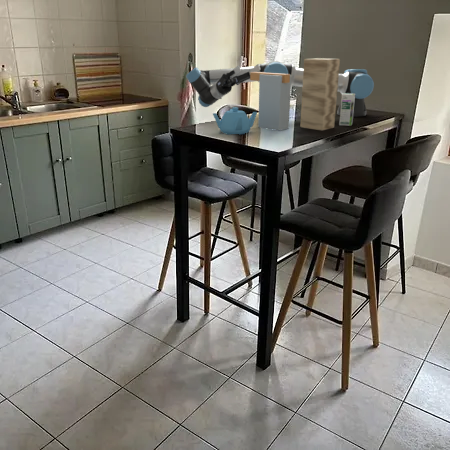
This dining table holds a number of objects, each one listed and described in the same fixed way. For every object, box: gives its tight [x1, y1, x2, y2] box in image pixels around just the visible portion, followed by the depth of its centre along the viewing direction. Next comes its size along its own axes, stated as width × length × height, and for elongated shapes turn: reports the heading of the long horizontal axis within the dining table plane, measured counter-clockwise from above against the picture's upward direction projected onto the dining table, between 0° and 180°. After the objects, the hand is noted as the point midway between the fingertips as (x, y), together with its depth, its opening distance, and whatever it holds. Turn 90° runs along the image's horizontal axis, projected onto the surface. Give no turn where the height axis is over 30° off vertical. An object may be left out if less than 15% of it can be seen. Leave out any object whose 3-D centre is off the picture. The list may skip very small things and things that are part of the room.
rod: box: [250, 72, 290, 83], centre depth 208 cm, size 4×20×4 cm, turn 46°
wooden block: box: [300, 57, 341, 131], centre depth 209 cm, size 10×12×30 cm
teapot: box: [212, 106, 258, 135], centre depth 203 cm, size 15×15×11 cm
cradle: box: [257, 74, 292, 131], centre depth 210 cm, size 8×12×24 cm, turn 46°
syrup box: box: [338, 93, 355, 127], centre depth 218 cm, size 6×6×14 cm
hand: (249, 67), depth 213 cm, fingers open, 13 cm apart
